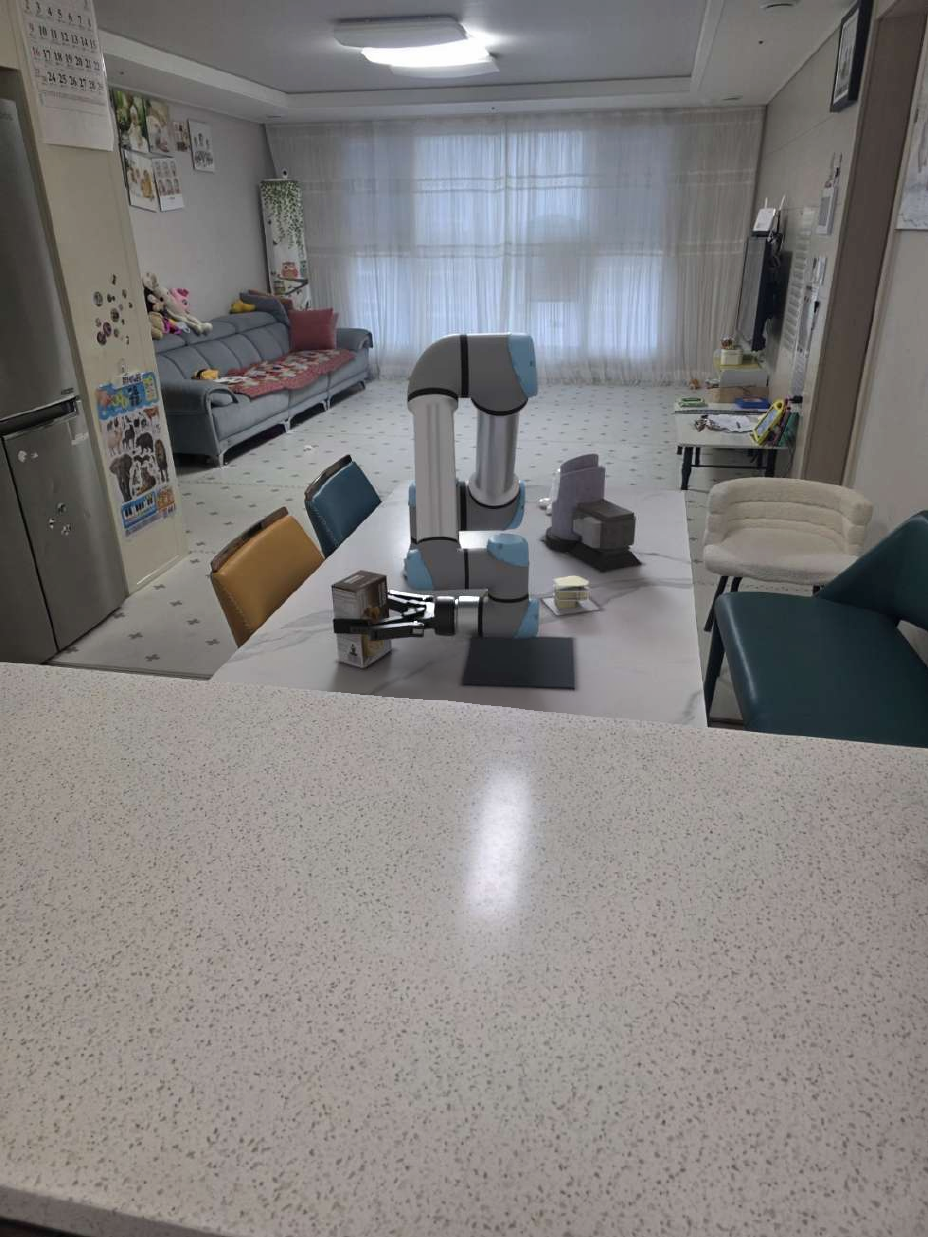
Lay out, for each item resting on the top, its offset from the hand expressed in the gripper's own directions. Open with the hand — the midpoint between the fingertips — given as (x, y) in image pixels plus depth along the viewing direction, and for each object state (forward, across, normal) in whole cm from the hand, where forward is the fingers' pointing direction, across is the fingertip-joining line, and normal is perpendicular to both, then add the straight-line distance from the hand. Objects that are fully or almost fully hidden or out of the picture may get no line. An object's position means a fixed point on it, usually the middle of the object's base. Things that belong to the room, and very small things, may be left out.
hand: (340, 613), depth 157 cm
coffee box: (-4, 0, -9) cm, 10 cm away
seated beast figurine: (-41, +96, -9) cm, 105 cm away
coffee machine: (-49, +62, -9) cm, 80 cm away
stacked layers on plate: (-44, +27, -9) cm, 53 cm away
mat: (-34, 0, -9) cm, 35 cm away
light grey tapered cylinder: (-23, +19, -9) cm, 31 cm away
